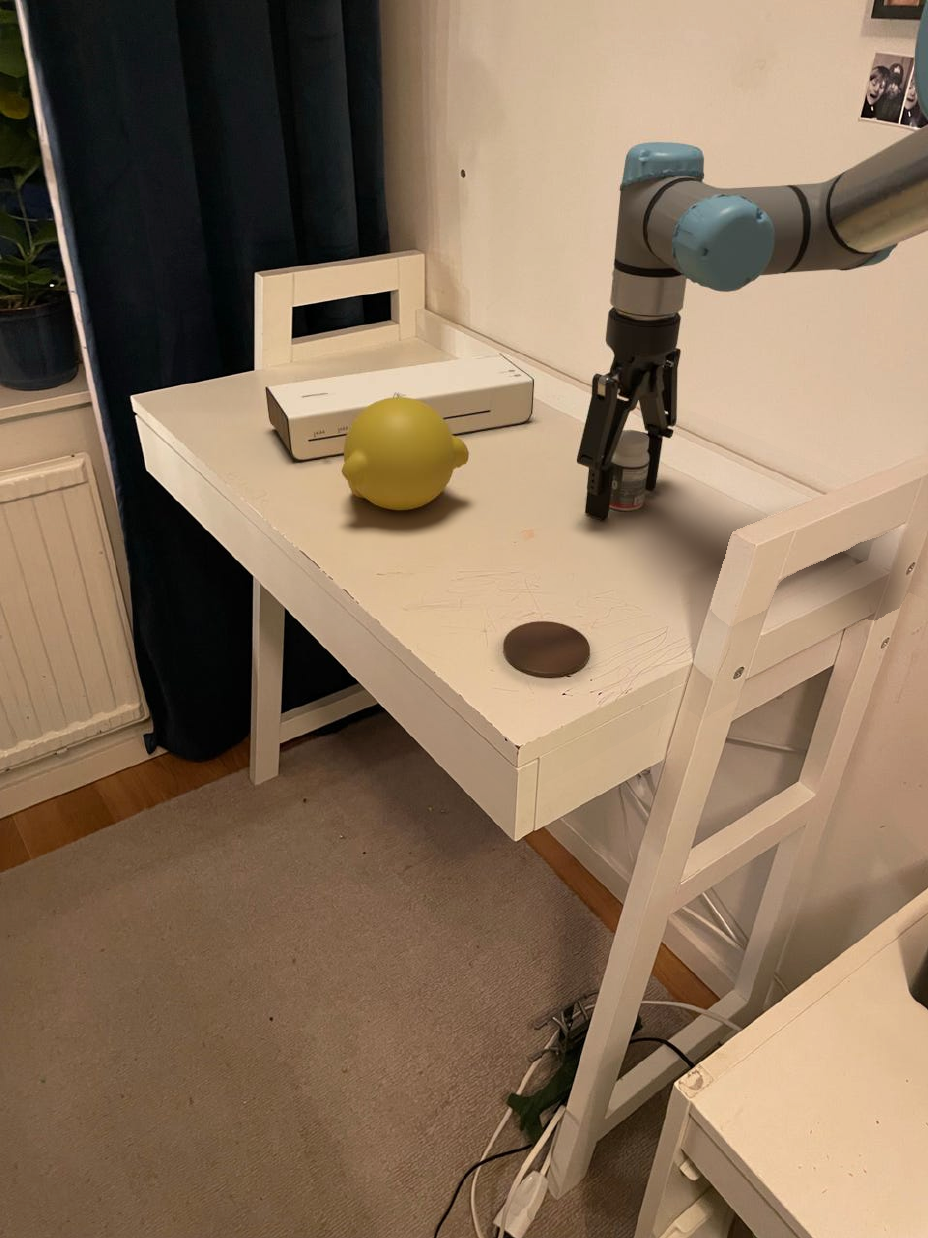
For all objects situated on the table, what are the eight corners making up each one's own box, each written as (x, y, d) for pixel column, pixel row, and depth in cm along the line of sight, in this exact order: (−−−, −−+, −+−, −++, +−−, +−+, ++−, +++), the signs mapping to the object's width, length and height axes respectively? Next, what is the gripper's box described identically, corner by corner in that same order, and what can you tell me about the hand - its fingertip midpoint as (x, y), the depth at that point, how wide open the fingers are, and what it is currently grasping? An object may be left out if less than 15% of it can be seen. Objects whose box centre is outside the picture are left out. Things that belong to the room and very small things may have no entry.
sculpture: (431, 447, 117) (448, 365, 106) (469, 523, 111) (491, 444, 100) (315, 467, 112) (321, 382, 101) (349, 548, 106) (359, 467, 95)
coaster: (606, 648, 87) (606, 644, 87) (554, 689, 82) (554, 684, 82) (538, 615, 91) (539, 611, 91) (485, 651, 86) (485, 647, 86)
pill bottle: (598, 494, 112) (604, 429, 107) (635, 491, 113) (644, 426, 108) (609, 513, 108) (616, 446, 103) (648, 510, 109) (657, 444, 104)
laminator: (291, 463, 118) (286, 417, 114) (268, 426, 127) (262, 382, 123) (532, 422, 129) (534, 379, 125) (494, 390, 138) (496, 349, 135)
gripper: (670, 280, 106) (645, 460, 119) (552, 326, 92) (538, 523, 106) (729, 294, 102) (696, 479, 115) (615, 344, 88) (592, 547, 102)
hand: (621, 500), depth 110 cm, fingers open, 9 cm apart
